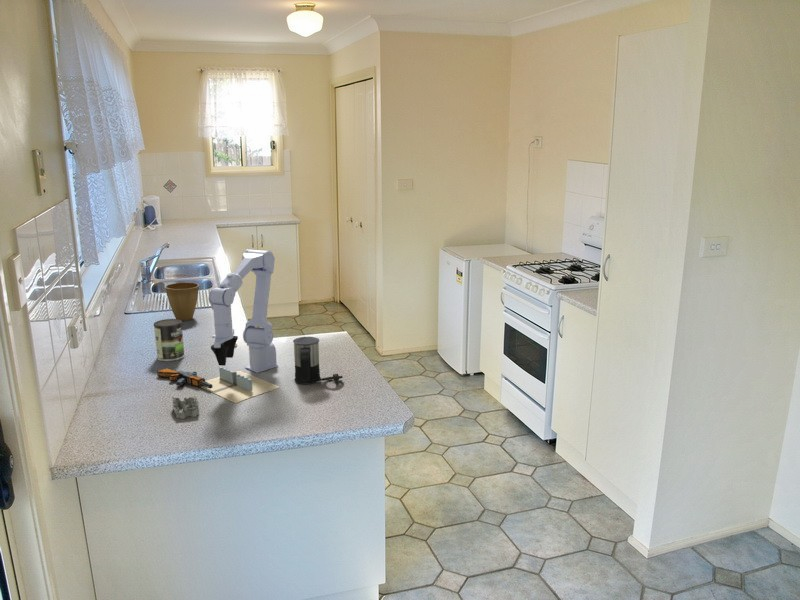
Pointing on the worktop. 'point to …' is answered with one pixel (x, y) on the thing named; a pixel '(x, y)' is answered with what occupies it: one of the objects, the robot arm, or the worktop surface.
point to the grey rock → (186, 407)
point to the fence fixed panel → (226, 375)
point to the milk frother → (308, 361)
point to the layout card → (239, 388)
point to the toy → (183, 377)
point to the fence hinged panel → (242, 381)
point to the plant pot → (182, 299)
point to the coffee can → (169, 339)
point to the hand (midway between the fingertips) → (226, 361)
